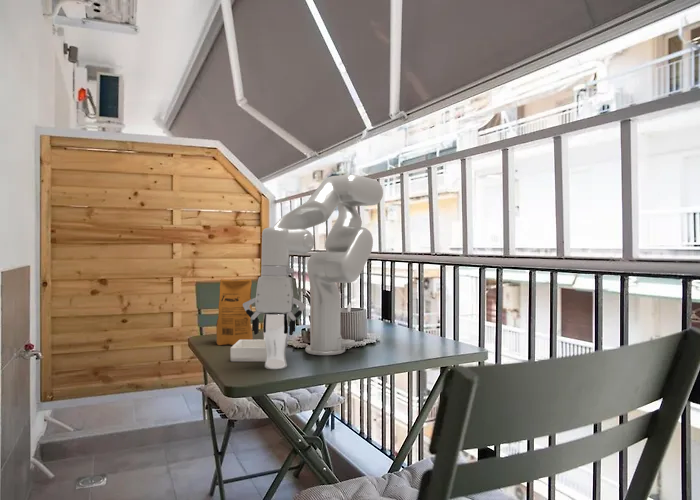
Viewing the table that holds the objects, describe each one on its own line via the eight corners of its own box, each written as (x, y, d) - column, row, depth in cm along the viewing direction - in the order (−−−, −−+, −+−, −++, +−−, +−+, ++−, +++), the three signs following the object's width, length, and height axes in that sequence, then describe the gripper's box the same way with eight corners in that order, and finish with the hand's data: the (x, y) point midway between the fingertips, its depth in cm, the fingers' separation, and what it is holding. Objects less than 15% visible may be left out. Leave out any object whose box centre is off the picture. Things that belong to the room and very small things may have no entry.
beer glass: (258, 368, 135) (258, 313, 135) (271, 362, 142) (271, 310, 141) (280, 370, 132) (280, 315, 132) (292, 364, 139) (292, 311, 139)
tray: (277, 352, 155) (277, 339, 155) (271, 361, 143) (271, 347, 143) (239, 352, 155) (239, 339, 155) (230, 361, 143) (230, 347, 143)
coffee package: (219, 340, 174) (218, 278, 174) (254, 339, 175) (254, 278, 175) (213, 346, 165) (212, 280, 164) (250, 345, 165) (250, 280, 165)
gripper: (307, 272, 140) (306, 332, 140) (246, 271, 140) (245, 331, 140) (305, 273, 133) (303, 336, 133) (240, 272, 133) (239, 335, 132)
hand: (273, 334), depth 136 cm, fingers open, 9 cm apart
